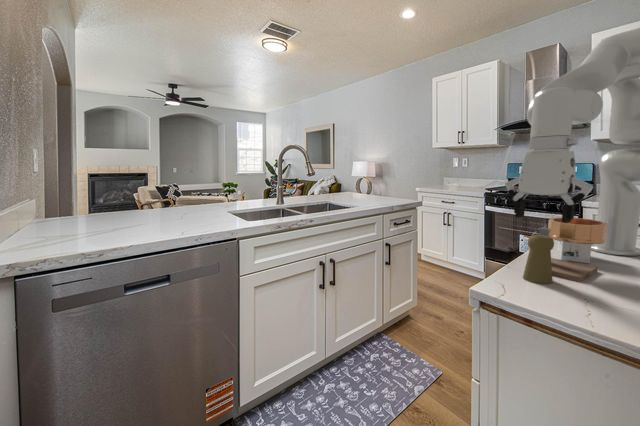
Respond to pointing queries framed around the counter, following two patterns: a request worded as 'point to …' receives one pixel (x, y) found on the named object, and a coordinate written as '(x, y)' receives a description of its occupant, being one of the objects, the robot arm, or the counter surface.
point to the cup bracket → (574, 233)
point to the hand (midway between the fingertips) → (541, 219)
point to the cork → (539, 260)
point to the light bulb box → (574, 252)
